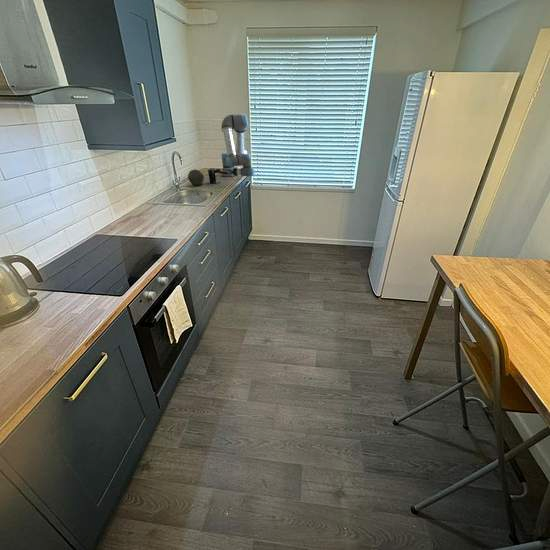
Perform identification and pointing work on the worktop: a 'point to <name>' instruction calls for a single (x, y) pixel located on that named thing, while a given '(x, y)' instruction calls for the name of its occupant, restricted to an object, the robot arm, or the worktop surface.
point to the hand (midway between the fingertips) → (215, 170)
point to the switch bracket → (212, 177)
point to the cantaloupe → (195, 177)
